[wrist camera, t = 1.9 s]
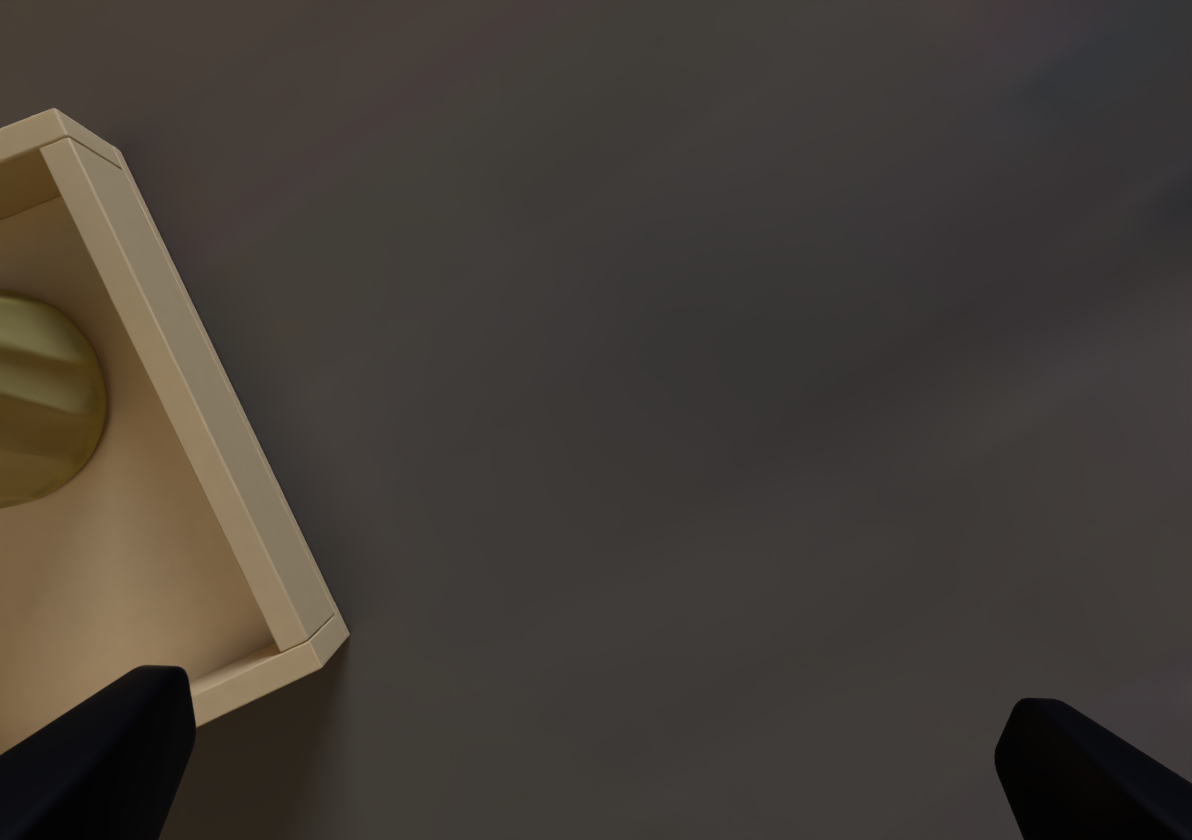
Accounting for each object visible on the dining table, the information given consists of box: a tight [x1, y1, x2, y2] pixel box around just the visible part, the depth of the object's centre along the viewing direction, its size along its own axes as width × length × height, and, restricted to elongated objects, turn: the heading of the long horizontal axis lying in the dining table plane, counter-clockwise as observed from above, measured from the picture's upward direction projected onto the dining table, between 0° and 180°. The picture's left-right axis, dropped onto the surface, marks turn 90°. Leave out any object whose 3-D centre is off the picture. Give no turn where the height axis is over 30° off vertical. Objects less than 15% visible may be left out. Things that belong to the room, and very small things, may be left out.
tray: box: [0, 108, 350, 755], centre depth 19 cm, size 16×12×3 cm
